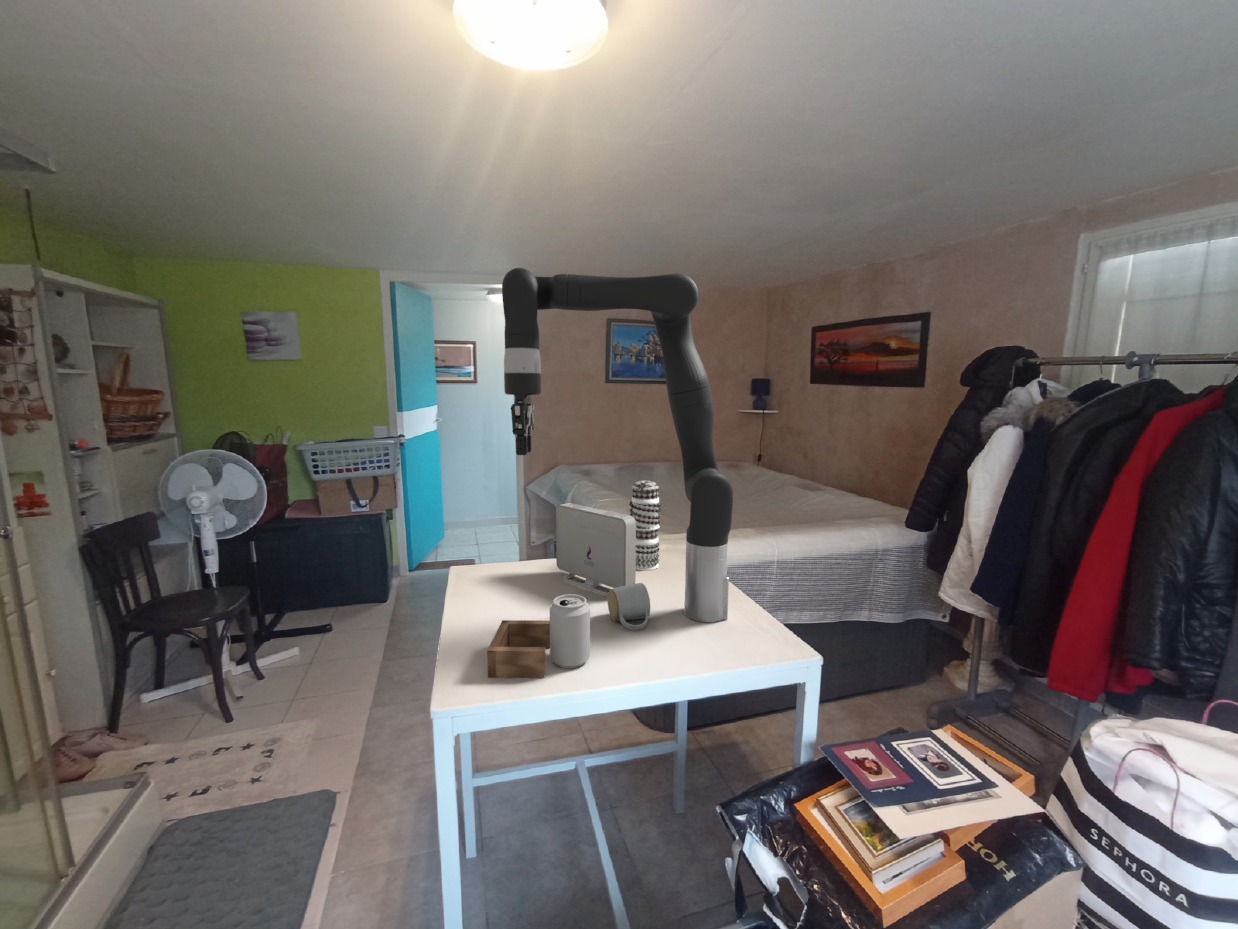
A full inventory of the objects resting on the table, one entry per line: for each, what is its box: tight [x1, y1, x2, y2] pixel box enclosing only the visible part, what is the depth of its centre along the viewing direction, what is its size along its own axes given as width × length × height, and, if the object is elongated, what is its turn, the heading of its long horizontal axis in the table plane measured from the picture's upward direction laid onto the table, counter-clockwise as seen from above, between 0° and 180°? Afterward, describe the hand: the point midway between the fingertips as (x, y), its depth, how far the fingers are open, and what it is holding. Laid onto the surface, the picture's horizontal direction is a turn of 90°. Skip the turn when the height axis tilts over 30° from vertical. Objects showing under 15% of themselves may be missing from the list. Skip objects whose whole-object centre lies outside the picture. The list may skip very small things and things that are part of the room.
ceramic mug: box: [606, 582, 651, 631], centre depth 116 cm, size 11×8×8 cm
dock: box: [486, 619, 550, 679], centre depth 98 cm, size 10×12×5 cm
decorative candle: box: [629, 479, 662, 572], centre depth 152 cm, size 9×9×25 cm
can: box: [549, 593, 591, 669], centre depth 98 cm, size 8×8×12 cm
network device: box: [555, 502, 637, 597], centre depth 137 cm, size 26×9×20 cm, turn 48°
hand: (524, 453), depth 111 cm, fingers open, 4 cm apart
